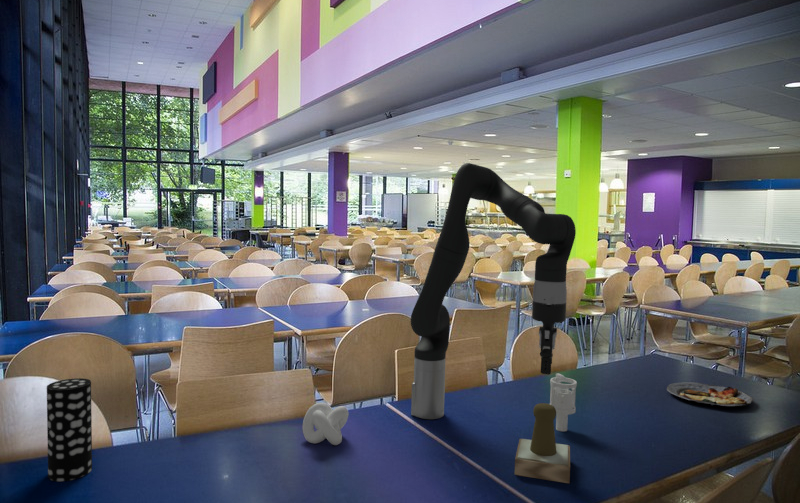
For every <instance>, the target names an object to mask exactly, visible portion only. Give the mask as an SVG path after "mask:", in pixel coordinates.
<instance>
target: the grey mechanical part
mask: <svg viewBox="0 0 800 503" xmlns="http://www.w3.org/2000/svg"><path fill="white" fill-rule="evenodd" d="M549 380H550V382H549V384H550V395H549V398H550V399H549V404H550V405H552V406H554V408H555V409H556V417H555V430H556V431H558V432H567V431H568V421H569V419H568V417H569V415H573V414H576V393H577V392H576V389H577V385H578V383H577V382H578V381H577V380H575V379H573V378H569V377H565V376H564V375H563V374H561V373H558V372H557V373H555V376H554V377H551V378H550V379H549ZM562 382H565V383H562ZM570 389H571V390H570Z"/></svg>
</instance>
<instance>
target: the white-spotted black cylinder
mask: <svg viewBox="0 0 800 503" xmlns="http://www.w3.org/2000/svg"><path fill="white" fill-rule="evenodd" d="M46 418H47V419H46V424H47V427H46V428H47V430H46V431H47V436H46V437H47V478H48V479H49V480H50V481H53V482H68V481H73V480H77V479H79V478H83V477H84V476H87V475H88V474H89V473H90V472H92V470H93V440H92V439H93V437H92V436H93V435H92V432H93V430H92V423H93V422H92V381H91V380H90V379H88V378H80V377H79V378H67V379H62V380H56V381H53V382H51V383H48V384H47V386H46Z"/></svg>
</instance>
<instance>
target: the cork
mask: <svg viewBox="0 0 800 503" xmlns="http://www.w3.org/2000/svg"><path fill="white" fill-rule="evenodd" d="M532 413H533V416H534V418H535V419H534V425H533V430H532V436H531V440H532V441H531V447H530V450H531V451H532V452H533V453H535V454H537V455H541V456H553V455H555V454H556V444H557V442H556V433H555V422H554V420H556V409H555V408H554V406H552V405H550V403H546V402H545V403H543V402H539V403H537V404H535V405H534V407H533V412H532Z"/></svg>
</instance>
